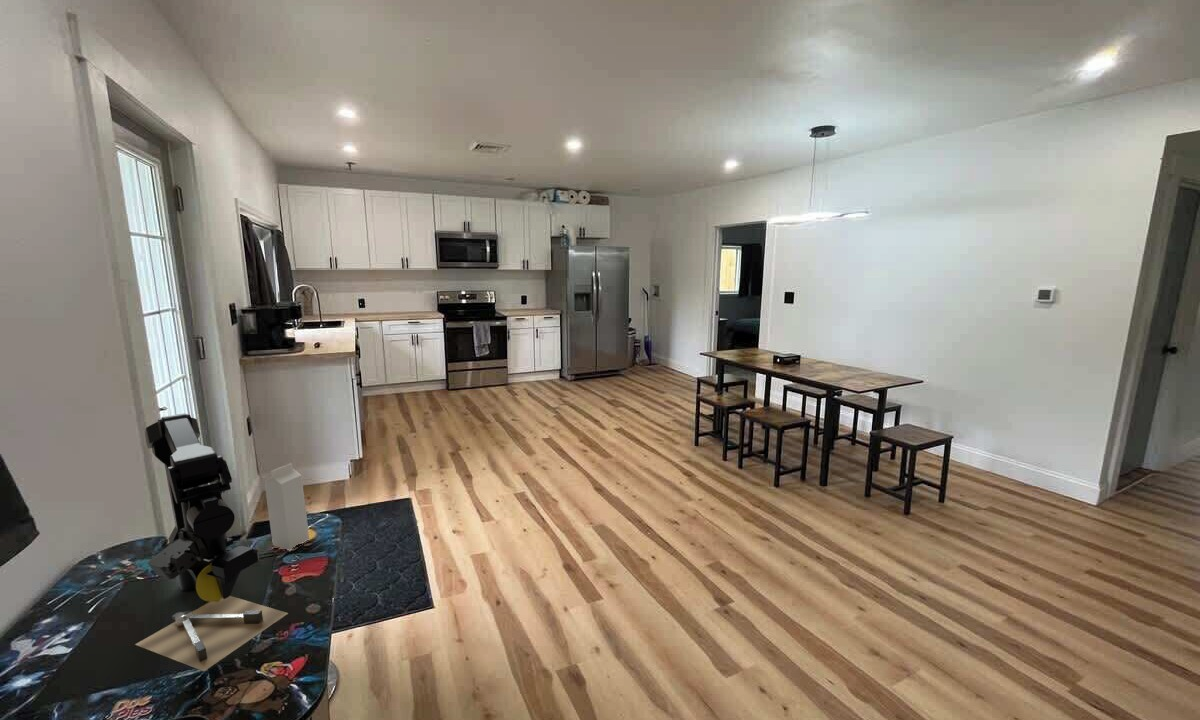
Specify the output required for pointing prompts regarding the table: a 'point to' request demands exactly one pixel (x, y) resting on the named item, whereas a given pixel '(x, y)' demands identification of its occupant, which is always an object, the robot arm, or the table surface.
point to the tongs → (188, 620)
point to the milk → (286, 507)
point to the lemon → (207, 586)
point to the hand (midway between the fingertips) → (216, 594)
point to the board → (211, 633)
